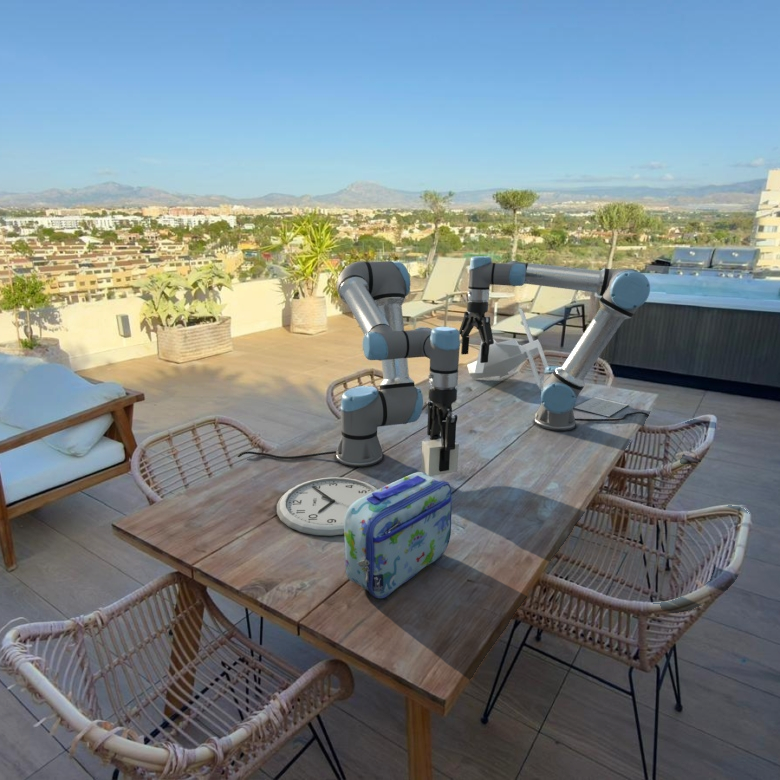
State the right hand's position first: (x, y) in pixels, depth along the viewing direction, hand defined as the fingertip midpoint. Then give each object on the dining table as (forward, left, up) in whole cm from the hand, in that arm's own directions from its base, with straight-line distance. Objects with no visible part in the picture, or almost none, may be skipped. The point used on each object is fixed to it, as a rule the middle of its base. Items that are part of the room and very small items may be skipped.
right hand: (474, 358), depth 194 cm
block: (+10, +58, -19) cm, 62 cm away
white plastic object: (-19, -57, -27) cm, 66 cm away
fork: (+18, -20, -27) cm, 38 cm away
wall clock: (+39, +67, -27) cm, 82 cm away
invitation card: (-57, -32, -27) cm, 71 cm away
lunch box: (+18, +93, -27) cm, 99 cm away
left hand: (+10, +58, -17) cm, 61 cm away
